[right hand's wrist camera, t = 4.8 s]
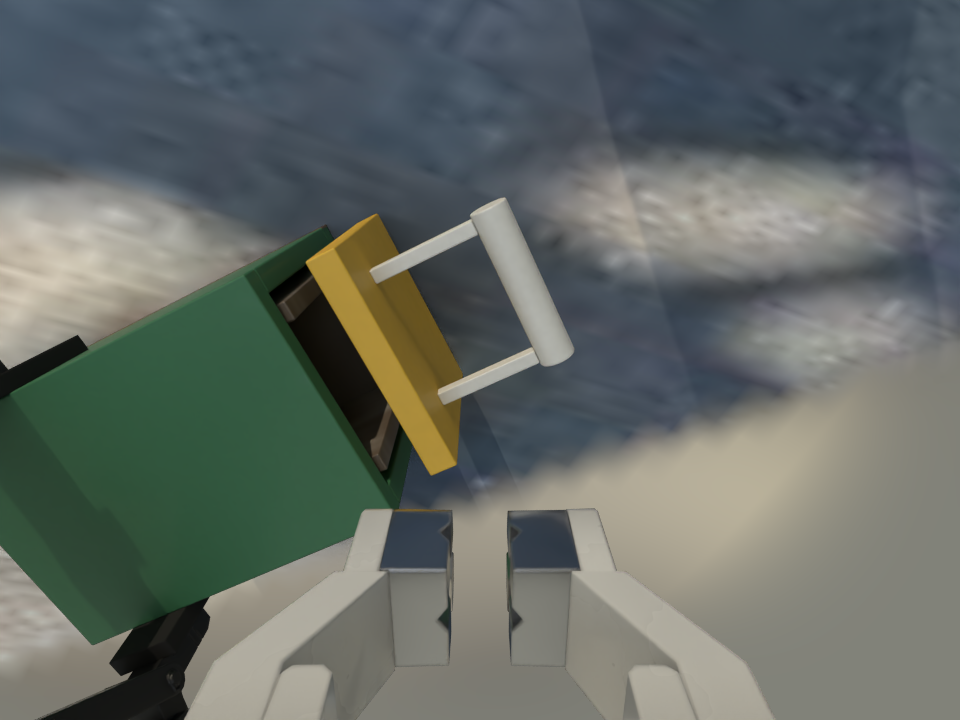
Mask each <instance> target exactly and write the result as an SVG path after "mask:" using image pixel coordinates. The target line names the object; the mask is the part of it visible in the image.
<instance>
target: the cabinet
mask: <svg viewBox="0 0 960 720" xmlns="http://www.w3.org/2000/svg"><path fill="white" fill-rule="evenodd" d="M333 241H334V239H333V237H332V235H331V234H330V232H329V230H328V228H327V225H324V226H322V227H320V228H318V229H316V230H314V231H312V232H310V233H308V234H306V235H304V236H302V237H300V238H298V239H296V240H295V241H293V242H291V243H289V244H287V245H285V246H283V247H281V248H279V249H277V250H275V251H273V252H271V253H269V254H267V255H265V256H263V257H261V258H259V259H257V260H256V261H254V262H252V263H250V264H248V265H246V266H244V267H242V268H240V269H238V270H236V271H234V272H232V273H230V274H228V275H226V276H224V277H222V278H220V279H218V280H216V281H215V282H213V283H211V284H209V285H207V286H205V287H203V288H201V289H199V290H197V291H195V292H193V293H191V294H189V295H187V296H185V297H183V298H181V299H179V300H177V301H175V302H174V303H172V304H170V305H168V306H166V307H164V308H162V309H160V310H158V311H156V312H154V313H152V314H150V315H148V316H146V317H144V318H142V319H140V320H138V321H136V322H134V323H133V324H131V325H129V326H127V327H125V328H123V329H121V330H119V331H117V332H115V333H113V334H111V335H109V336H107V337H105V338H103V339H101V340H99V341H97V342H95V343H94V344H92V345H90V346H88V347H87V348H88V349H89V350H87V351H85V352H83V353H81V354H80V355H78V356H76V357H74V358H72V359H71V360H69V361H67V362H65V363H63V364H62V365H60V366H58V367H56V368H54V369H53V370H51V371H49V372H47V373H45V374H43V375H42V376H40V377H38V378H36V379H34V380H33V381H31V382H29V383H27V384H25V385H24V386H22V387H20V388H18V389H16V390H15V391H13V392H11V393H10V394H8V395H6V396H5V397H3V398H1V399H0V546H1V547H2V548H3V549H4V550H5V551H6V552H7V553H8V554H9V555H10V557H11V558H12V559H13V560H14V561H15V562H16V563H17V564H18V565H19V566H20V567H21V568H22V570H23V571H24V572H25V573H26V574H27V575H28V576H29V577H30V578H31V579H32V580H33V582H34V583H35V584H36V585H37V586H38V587H39V588H40V589H41V590H42V591H43V592H44V593H45V595H46V596H47V597H48V598H49V599H50V600H51V601H52V602H53V603H54V604H55V605H56V606H57V608H58V609H59V610H60V611H61V612H62V613H63V614H64V615H65V616H66V617H67V618H68V620H69V621H70V622H71V623H72V624H73V625H74V626H75V627H76V628H77V629H78V630H79V631H80V633H81V634H82V635H83V636H84V637H85V638H86V639H87V640H88V641H89V642H90V643H91V645H95V644H97V643H100V642H102V641H105V640H107V639H109V638H112V637H114V636H116V635H119V634H121V633H124V632H126V631H128V630H131V629H133V628H136V627H138V626H140V625H143V624H145V623H148V622H150V621H152V620H155V619H157V618H159V617H162V616H164V615H167V614H169V613H171V612H174V611H176V610H179V609H181V608H183V607H186V606H188V605H191V604H193V603H195V602H198V601H200V600H202V599H205V598H207V597H210V596H212V595H214V594H217V593H219V592H222V591H224V590H226V589H229V588H231V587H233V586H236V585H238V584H241V583H243V582H245V581H248V580H250V579H253V578H255V577H257V576H260V575H262V574H265V573H267V572H269V571H272V570H274V569H276V568H279V567H281V566H284V565H286V564H288V563H291V562H293V561H296V560H298V559H300V558H303V557H305V556H308V555H310V554H312V553H315V552H317V551H319V550H322V549H324V548H327V547H329V546H331V545H334V544H336V543H339V542H341V541H343V540H346V539H348V538H351V537H353V536H354V535H355V532H356V529H357V525H358V522H359V519H360V516H361V513H362V512H363V511H364V510H365V509H393V510H395V509H399V503H400V500H401V496H402V491H403V486H404V482H405V477H406V472H407V467H408V463H409V458H410V453H411V449H412V443H411V441H410V439H409V438H408V436H407V434H406V433H405V431H404V429H403V428H402V426H401V424H399V428H398V431H397V435H396V439H395V442H394V446H393V450H392V453H391V457H390V461H389V464H388V468H387V469H386V470H384V471H381V472H379V470H378V469H377V467H376V465H375V464H374V462H373V460H372V459H371V457H370V456H369V454H368V452H367V451H366V449H365V448H364V446H363V444H362V443H361V441H360V440H359V438H358V436H357V435H356V433H355V432H354V430H353V428H352V427H351V425H350V423H349V422H348V420H347V419H346V417H345V415H344V414H343V412H342V411H341V409H340V407H339V406H338V404H337V403H336V401H335V399H334V398H333V396H332V395H331V393H330V391H329V390H328V388H327V386H326V385H325V383H324V382H323V380H322V378H321V377H320V375H319V374H318V372H317V370H316V369H315V367H314V366H313V364H312V362H311V361H310V359H309V358H308V356H307V354H306V353H305V351H304V349H303V348H302V346H301V345H300V343H299V341H298V340H297V338H296V337H295V335H294V333H293V332H292V330H291V329H290V327H289V325H288V324H287V322H286V321H285V319H284V317H283V316H282V314H281V312H280V311H279V309H278V308H277V306H276V304H275V303H274V301H273V300H272V298H271V296H270V295H269V292H271V291H272V290H273V289H275V288H276V287H277V286H279V285H280V284H281V283H283V282H284V281H286V280H288V279H290V278H292V277H294V276H296V275H298V274H300V273H302V272H304V271H306V270H308V269H309V268H308V266H307V265H306V261H307V260H308V259H310V258H311V257H313V256H314V255H315V254H317V253H318V252H319V251H321V250H322V249H323V248H325V247H326V246H327V245H329V244H330V243H331V242H333Z"/></svg>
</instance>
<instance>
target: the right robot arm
mask: <svg viewBox="0 0 960 720" xmlns="http://www.w3.org/2000/svg"><path fill="white" fill-rule="evenodd" d="M507 539H508V552H507V608H508V612H509V641H510V656H511V665H514V666H550V667H565V670H566V671H567V673H568V674H569V675H570V676H571V678H572V679H573V680H574V681H575V683H576V684H577V685H578V687H579V688H580V689H581V690H582V692H583V693H584V694H585V696H586V697H587V698H588V699H589V701H590V702H591V703H592V704H593V706H594V707H595V708H596V710H597V711H598V712H599V713H600V715H601V716H602V717H603V718H604V720H776V719H775V716H774V714H773V712H772V710H771V708H770V707H769V704H768V702H767V700H766V699H765V697H764V695H763V693H762V691H761V689H760V687H759V685H758V683H757V681H756V679H755V677H754V675H753V673H752V671H751V669H750V667H749V665H748V663H747V662H746V661H744V660H743V659H742V658H740V657H739V656H738V655H736V654H735V653H734V652H732V651H731V650H730V649H728V648H727V647H726V646H724V645H723V644H722V643H720V642H719V641H718V640H717V639H715V638H714V637H713V636H711V635H710V634H709V633H707V632H706V631H705V630H703V629H702V628H701V627H699V626H698V625H697V624H695V623H694V622H693V621H691V620H690V619H689V618H687V617H686V616H685V615H683V614H682V613H681V612H679V611H678V610H677V609H675V608H674V607H673V606H671V605H670V604H669V603H667V602H666V601H665V600H663V599H662V598H661V597H659V596H658V595H657V594H655V593H654V592H653V591H651V590H650V589H649V588H647V587H646V586H645V585H643V584H642V583H641V582H639V581H638V580H637V579H635V578H634V577H633V576H631V575H630V574H629V573H627V572H626V571H617V570H616V567H615V563H614V560H613V557H612V554H611V551H610V548H609V545H608V541H607V538H606V535H605V532H604V529H603V526H602V523H601V520H600V517H599V513H598V511H597V510H596V509H594V508H591V509H566V510H532V511H508V517H507ZM452 542H453V517H452V510H422V509H395V510H393V509H365V510H364V511H363V512H362V513H361V516H360V519H359V522H358V525H357V529H356V532H355V535H354V538H353V541H352V545H351V548H350V551H349V554H348V557H347V560H346V564H345V567H344V570H343V571H334V572H333V573H331V574H330V575H329V576H327V577H326V578H325V579H323V580H322V581H321V582H319V583H318V584H317V585H315V586H314V587H313V588H311V589H310V590H309V591H307V592H306V593H305V594H303V595H302V596H301V597H299V598H298V599H297V600H295V601H294V602H293V603H291V604H290V605H289V606H287V607H286V608H285V609H283V610H282V611H281V612H279V613H278V614H277V615H275V616H274V617H273V618H271V619H270V620H269V621H267V622H266V623H265V624H263V625H262V626H261V627H259V628H258V629H257V630H255V631H254V632H253V633H251V634H250V635H249V636H247V637H246V638H245V639H243V640H242V641H241V642H239V643H238V644H237V645H235V646H234V647H233V648H231V649H230V650H229V651H227V652H226V653H225V654H223V655H222V656H221V657H219V658H218V659H217V660H215V661H214V662H213V664H212V666H211V668H210V670H209V672H208V674H207V675H206V678H205V679H204V681H203V683H202V685H201V687H200V689H199V691H198V693H197V695H196V697H195V699H194V701H193V703H192V705H191V707H190V709H189V711H188V713H187V715H186V717H185V719H184V720H356V719H357V718H358V716H359V715H360V714H361V713H362V711H363V710H364V709H365V708H366V706H367V705H368V704H369V702H370V701H371V700H372V699H373V697H374V696H375V695H376V694H377V692H378V691H379V690H380V689H381V687H382V686H383V685H384V683H385V682H386V681H387V680H388V678H389V677H390V676H391V675H392V673H393V672H394V671H395V667H410V666H445V665H449V658H450V643H451V612H452V609H453V582H454V559H453V558H454V557H453V552H452Z"/></svg>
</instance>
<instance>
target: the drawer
mask: <svg viewBox="0 0 960 720" xmlns="http://www.w3.org/2000/svg"><path fill="white" fill-rule="evenodd" d="M470 217H471V220H468V221H466V222H464V223H462V224H460V225H458V226H456V227H454V228H452V229H450V230H448V231H446V232H444V233H442V234H440V235H438V236H436V237H434V238H432V239H430V240H428V241H426V242H424V243H422V244H420V245H418V246H416V247H414V248H412V249H410V250H407V251H405V252H403V253H401V254H399V253H398V251H397V249H396V247H395V245H394V243H393V242H392V240H391V238H390V236H389V234H388V232H387V230H386V228H385V226H384V225H383V223H382V221H381V219H380V217H379V215H378V214H374V215H372V216H370V217H368V218H367V219H365V220H363V221H361V222H359V223H357V224H356V225H354V226H353V227H352V228H350V229H349V230H348V231H346V232H345V233H344V234H342V235H341V236H339V237H338V238H337V239H335V240H334V241H333V242H331V243H330V244H329V245H327V246H326V247H325V248H323V249H322V250H321V251H319V252H318V253H317V254H315V255H314V256H313V257H311V258H310V259H308V260H307V261H306V265H307V266H308V268H309V269H308V270H306V271H304V272H302V273H300V274H298V275H296V276H294V277H292V278H290V279H288V280H286V281H284V282H283V283H281V284H280V285H279V286H277V287H276V288H275V289H273V290H272V291H271V292H269V295H270V296H271V298H272V300H273V301H274V303H275V304H276V306H277V308H278V309H279V311H280V312H281V314H282V316H283V317H284V319H285V321H286V322H287V324H288V325H289V327H290V329H291V330H292V332H293V333H294V335H295V337H296V338H297V340H298V341H299V343H300V345H301V346H302V348H303V349H304V351H305V353H306V354H307V356H308V358H309V359H310V361H311V362H312V364H313V366H314V367H315V369H316V370H317V372H318V374H319V375H320V377H321V378H322V380H323V382H324V383H325V385H326V386H327V388H328V390H329V391H330V393H331V395H332V396H333V398H334V399H335V401H336V403H337V404H338V406H339V407H340V409H341V411H342V412H343V414H344V415H345V417H346V419H347V420H348V422H349V423H350V425H351V427H352V428H353V430H354V432H355V433H356V435H357V436H358V438H359V440H360V441H361V443H362V444H363V446H364V448H365V449H366V451H367V452H368V454H369V456H370V457H371V459H372V460H373V462H374V464H375V465H376V467H377V469H378V470H379V472H381V471H384V470H386V469H387V468H388V464H389V461H390V457H391V453H392V450H393V446H394V442H395V439H396V435H397V431H398V428H399V424H401V426H402V428H403V429H404V431H405V433H406V434H407V436H408V438H409V439H410V441H411V443H412V445H413V446H414V448H415V450H416V451H417V453H418V455H419V456H420V458H421V460H422V462H423V463H424V465H425V467H426V468H427V470H428V472H429V473H430V475H434V474H437V473H439V472H441V471H444V470H446V469H448V468H451V467H453V466H455V465H457V454H458V439H459V424H460V409H461V397H464V396H466V395H468V394H470V393H473V392H475V391H477V390H479V389H482V388H484V387H486V386H488V385H491V384H493V383H495V382H497V381H500V380H502V379H504V378H506V377H509V376H511V375H513V374H515V373H518V372H520V371H522V370H524V369H527V368H529V367H531V366H533V365H536V364H538V363H539V361H540V363H541V365H543V366H553V365H556V364H559V363H561V362H563V361H565V360H566V359H568V358H569V357H570V356H571V355H572V354H573V353H574V347H573V345H572V343H571V340H570V338H569V336H568V334H567V331H566V329H565V327H564V325H563V323H562V320H561V318H560V316H559V314H558V312H557V309H556V307H555V305H554V303H553V301H552V298H551V296H550V294H549V292H548V290H547V287H546V285H545V283H544V281H543V279H542V276H541V274H540V272H539V270H538V268H537V265H536V263H535V261H534V259H533V257H532V254H531V252H530V250H529V248H528V246H527V243H526V241H525V239H524V237H523V235H522V232H521V230H520V228H519V226H518V224H517V221H516V219H515V217H514V215H513V213H512V210H511V208H510V206H509V204H508V202H507V199H506V198H500V199H497V200H495V201H493V202H490V203H488V204H486V205H484V206H482V207H481V208H479V209H477V210H475V211H474V212H473V213H471V215H470ZM478 234H479V236H480V238H481V240H482V242H483V244H484V246H485V248H486V251H487V253H488V255H489V257H490V259H491V261H492V263H493V265H494V267H495V269H496V271H497V274H498V276H499V278H500V280H501V282H502V284H503V286H504V288H505V290H506V292H507V294H508V296H509V299H510V301H511V303H512V305H513V307H514V309H515V311H516V313H517V315H518V317H519V319H520V322H521V324H522V326H523V328H524V330H525V332H526V334H527V336H528V338H529V340H530V342H531V344H532V347H531V348H529V349H527V350H524V351H522V352H520V353H518V354H516V355H513V356H511V357H509V358H507V359H504V360H502V361H500V362H498V363H496V364H493V365H491V366H489V367H487V368H484V369H482V370H480V371H478V372H476V373H473V374H471V375H469V376H467V377H464V378H463V373H462V371H461V370H460V368H459V366H458V364H457V362H456V360H455V358H454V356H453V354H452V353H451V351H450V349H449V347H448V345H447V343H446V341H445V339H444V338H443V336H442V334H441V332H440V330H439V328H438V326H437V324H436V322H435V321H434V319H433V317H432V315H431V313H430V311H429V309H428V307H427V306H426V304H425V302H424V300H423V298H422V296H421V294H420V292H419V290H418V289H417V287H416V285H415V283H414V281H413V279H412V277H411V275H410V274H409V272H408V270H407V269H409V268H411V267H413V266H415V265H417V264H419V263H421V262H423V261H425V260H427V259H429V258H431V257H434V256H436V255H438V254H440V253H442V252H444V251H446V250H448V249H450V248H452V247H454V246H456V245H458V244H460V243H462V242H464V241H466V240H468V239H470V238H472V237H475V236H477V235H478Z"/></svg>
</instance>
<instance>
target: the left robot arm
mask: <svg viewBox="0 0 960 720" xmlns="http://www.w3.org/2000/svg"><path fill="white" fill-rule="evenodd" d="M87 350H89V349H88V348H87V347H86V345H85V344H84V343H83V341H82V340H81V339H80V337H79V336H78V335H77V336H75V337H73V338H71V339H69V340H67V341H65V342H63V343H61V344H59V345H57V346H55V347H53V348H51V349H49V350H47V351H45V352H43V353H41V354H39V355H37V356H35V357H33V358H31V359H29V360H27V361H25V362H23V363H21V364H19V365H17V366H15V367H13V368H11V369H9V370H8V369H7V368H6V367H5V365H4V364H3V363H2V362H1V360H0V399H1V398H3V397H5V396H6V395H8V394H10V393H11V392H13V391H15V390H16V389H18V388H20V387H22V386H24V385H25V384H27V383H29V382H31V381H33V380H34V379H36V378H38V377H40V376H42V375H43V374H45V373H47V372H49V371H51V370H53V369H54V368H56V367H58V366H60V365H62V364H63V363H65V362H67V361H69V360H71V359H72V358H74V357H76V356H78V355H80V354H81V353H83V352H85V351H87ZM208 599H209V597H207V598H205V599H202V600H200V601H198V602H195V603H193V604H191V605H188V606H186V607H183V608H181V609H179V610H176V611H174V612H171V613H169V614H167V615H164V616H162V617H159V618H157V619H155V620H152V621H150V622H148V623H145V624H143V625H140V626H138V627H136V628H133V630H132V631H131V633H130V634H129V636H128V637H127V638H126V640H125V641H124V643H123V644H122V646H121V647H120V648H119V650H118V651H117V653H116V654H115V656H114V657H113V659H112V660H111V661H110V665H111V666H112V667H113V668H114V669H115V670H116V671H117V672H118V673H119V675H120V676H122V675H125V674H127V673H130V672H132V671H133V672H132V674H131V675H130V677H129V678H128V680H126V681H123V682H121V683H118V684H116V685H113V686H111V687H108V688H106V689H105V690H102V691H100V692H98V693H96V694H93V695H91V696H89V697H86V698H84V699H82V700H79V701H77V702H75V703H72V704H70V705H68V706H65V707H63V708H61V709H59V710H56V711H54V712H52V713H49V714H47V715H45V716H42V717H40V718H38V719H36V720H184V719H185V717H186V715H187V713H188V711H189V709H190V708H189V709H188V707H187V705H186V703H185V700H184V698H183V695H182V689H183V687H184V683H185V674H184V672H185V670H186V668H187V666H188V664H189V662H190V660H191V659H192V657H193V655H194V653H195V652H196V650H197V648H198V646H199V644H200V642H201V641H202V638H203V637H204V635H205V633H206V632H207V630H208V626H209V621H210V616H209V615H208V614H207V612H206V611H205V610H204V609H203V607H204V605H205V604H206V602H207V600H208Z"/></svg>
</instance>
